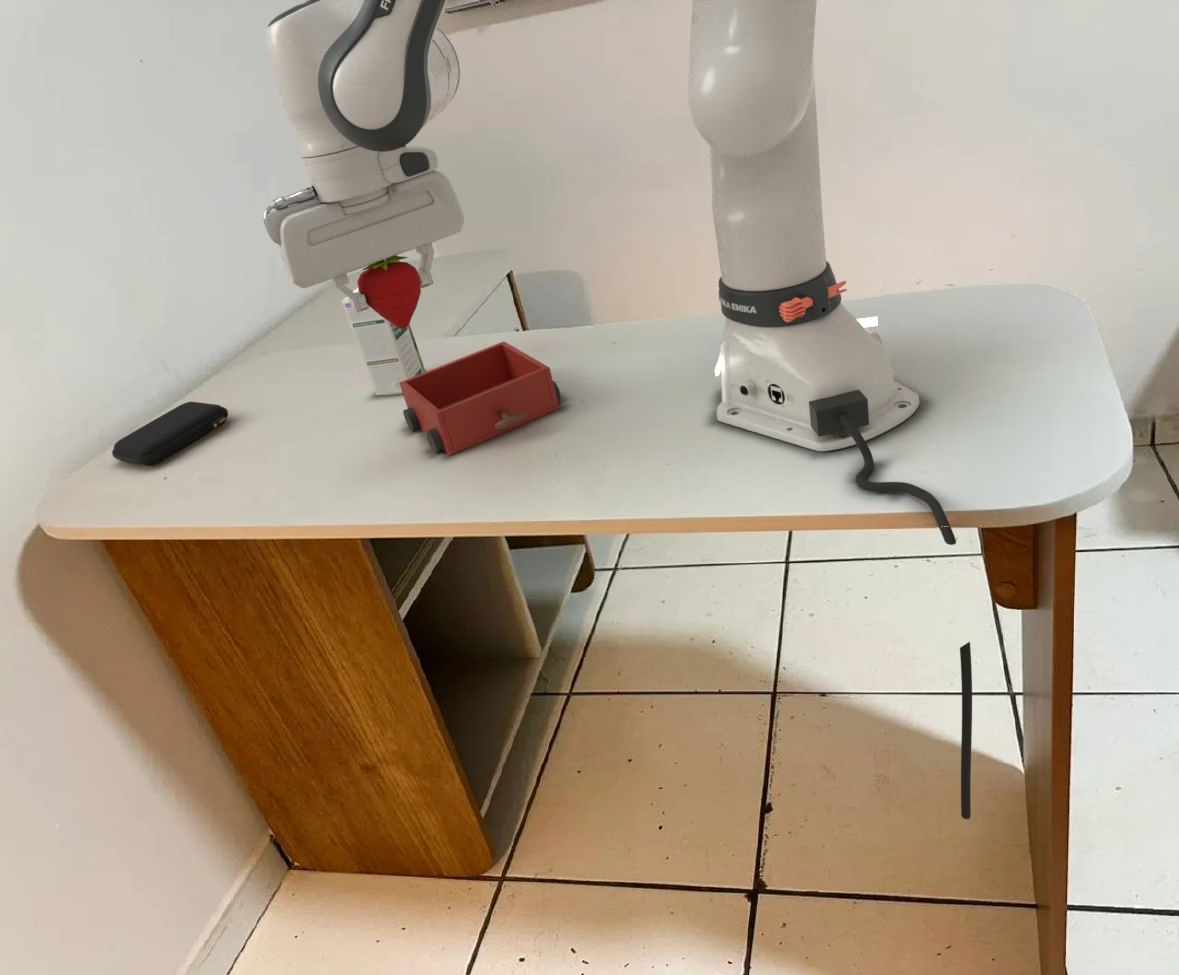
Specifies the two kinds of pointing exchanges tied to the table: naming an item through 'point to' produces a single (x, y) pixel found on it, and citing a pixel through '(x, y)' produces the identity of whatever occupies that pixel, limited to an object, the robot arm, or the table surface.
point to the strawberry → (391, 289)
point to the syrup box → (384, 349)
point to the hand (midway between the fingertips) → (394, 297)
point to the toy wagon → (478, 397)
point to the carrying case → (170, 433)
